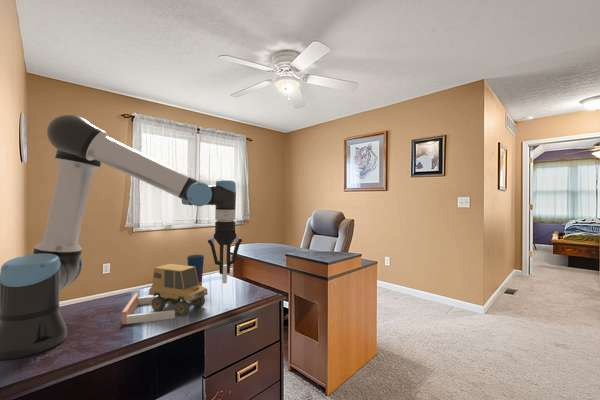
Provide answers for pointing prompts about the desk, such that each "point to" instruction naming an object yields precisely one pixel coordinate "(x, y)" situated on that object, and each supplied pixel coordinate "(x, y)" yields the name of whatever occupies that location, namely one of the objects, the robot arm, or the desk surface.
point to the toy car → (177, 288)
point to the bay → (143, 317)
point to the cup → (197, 265)
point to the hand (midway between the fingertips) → (224, 282)
